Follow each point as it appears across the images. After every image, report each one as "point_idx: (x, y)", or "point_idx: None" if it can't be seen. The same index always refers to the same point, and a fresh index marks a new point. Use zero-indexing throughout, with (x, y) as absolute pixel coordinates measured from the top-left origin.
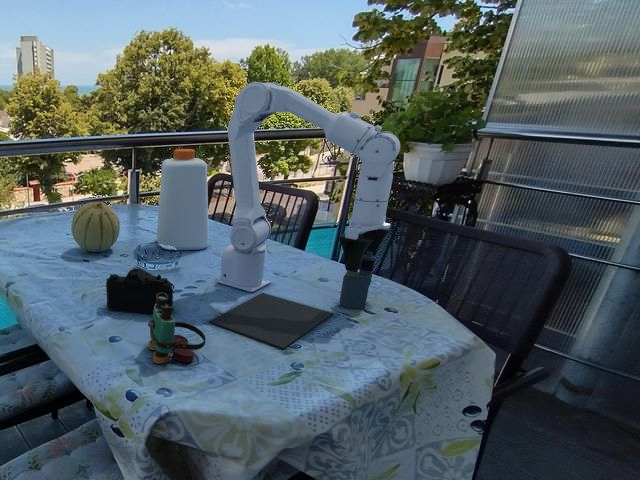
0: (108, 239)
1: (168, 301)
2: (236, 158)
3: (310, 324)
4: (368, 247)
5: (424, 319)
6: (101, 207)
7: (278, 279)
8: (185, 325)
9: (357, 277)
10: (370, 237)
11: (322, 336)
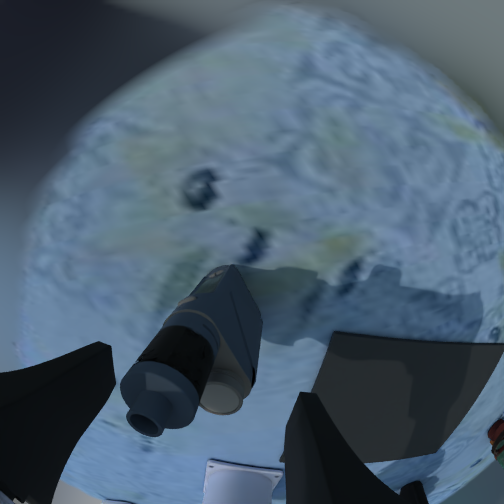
0: None
1: (422, 495)
2: None
3: (422, 352)
4: (69, 413)
5: (221, 95)
6: None
7: (171, 447)
8: (495, 445)
9: (238, 359)
10: (36, 451)
11: (457, 312)
